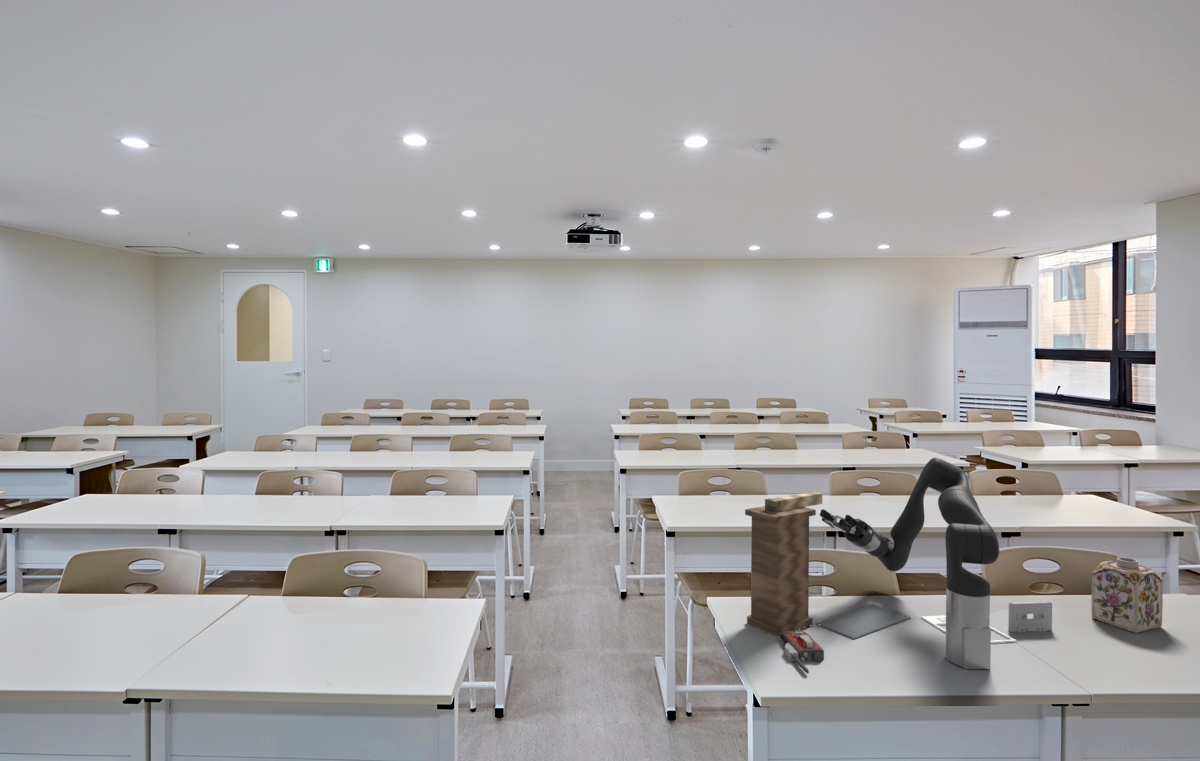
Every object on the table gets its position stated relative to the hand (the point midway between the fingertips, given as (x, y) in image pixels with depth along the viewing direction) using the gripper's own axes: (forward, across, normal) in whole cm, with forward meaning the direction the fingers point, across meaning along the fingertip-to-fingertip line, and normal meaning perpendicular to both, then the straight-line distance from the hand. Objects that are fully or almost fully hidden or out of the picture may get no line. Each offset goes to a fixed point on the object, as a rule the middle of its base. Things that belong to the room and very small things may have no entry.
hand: (833, 514), depth 191 cm
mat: (-12, +11, +25) cm, 30 cm away
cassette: (-40, +40, +9) cm, 58 cm away
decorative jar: (-65, +52, -5) cm, 83 cm away
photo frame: (-29, +30, +16) cm, 45 cm away
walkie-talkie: (+15, +17, +41) cm, 47 cm away
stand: (+6, 0, +36) cm, 36 cm away
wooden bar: (+17, 0, +5) cm, 18 cm away
